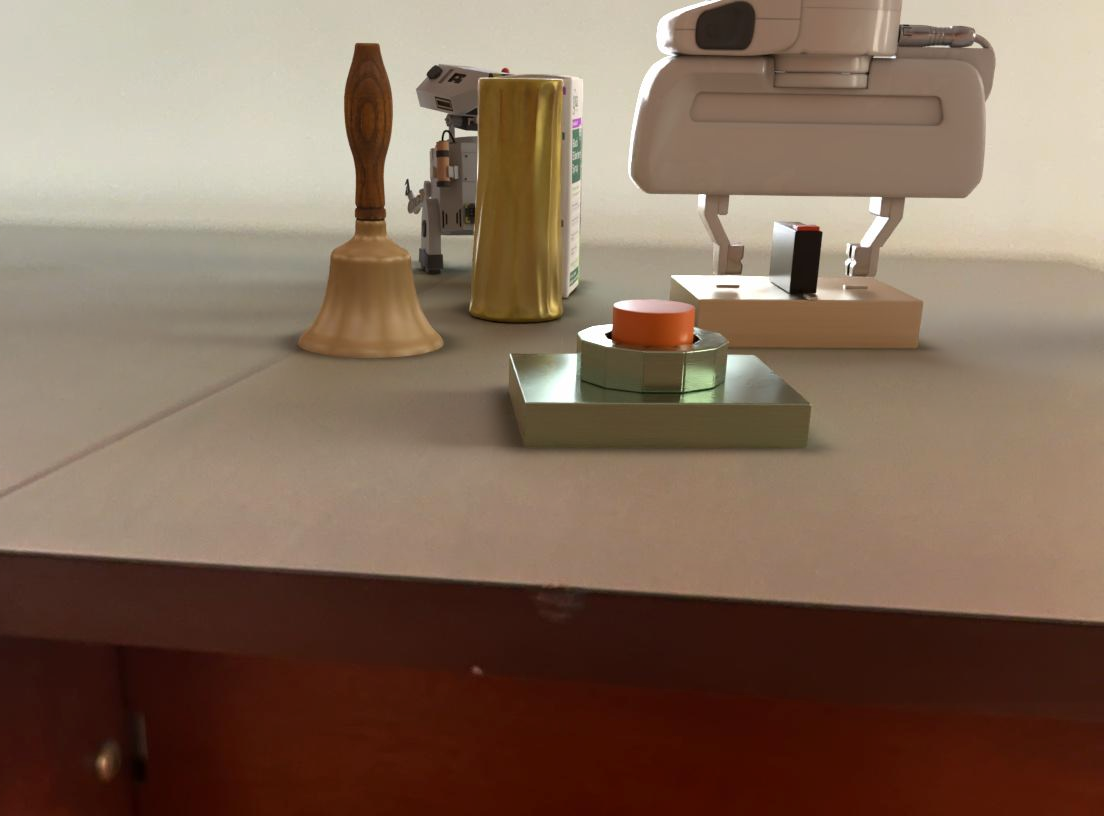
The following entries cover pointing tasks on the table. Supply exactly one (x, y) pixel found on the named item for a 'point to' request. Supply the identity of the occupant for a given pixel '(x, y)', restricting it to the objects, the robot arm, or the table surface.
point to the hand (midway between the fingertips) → (793, 275)
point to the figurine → (449, 160)
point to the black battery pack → (795, 256)
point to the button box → (653, 397)
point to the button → (653, 322)
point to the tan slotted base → (802, 312)
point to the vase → (518, 201)
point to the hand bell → (370, 241)
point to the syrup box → (569, 175)
